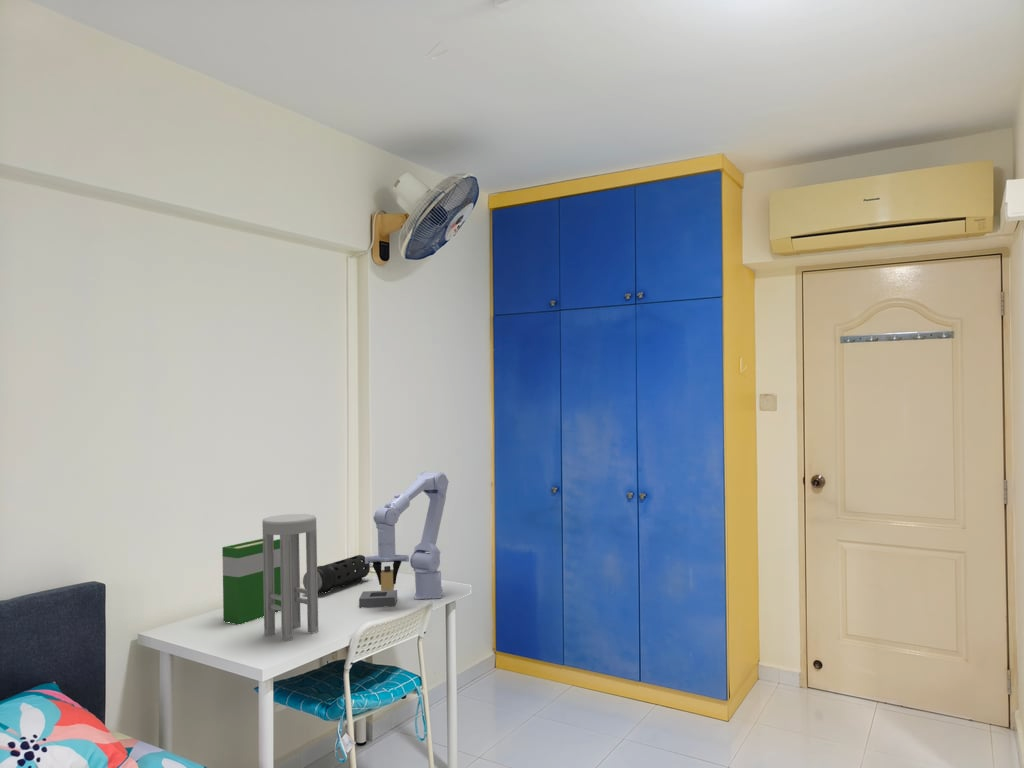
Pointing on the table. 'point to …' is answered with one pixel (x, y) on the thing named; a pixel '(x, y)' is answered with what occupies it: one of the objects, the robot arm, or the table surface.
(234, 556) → the hardback book
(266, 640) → the table surface
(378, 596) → the socket housing
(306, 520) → the stool
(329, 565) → the muzzle brake
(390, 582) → the plug
